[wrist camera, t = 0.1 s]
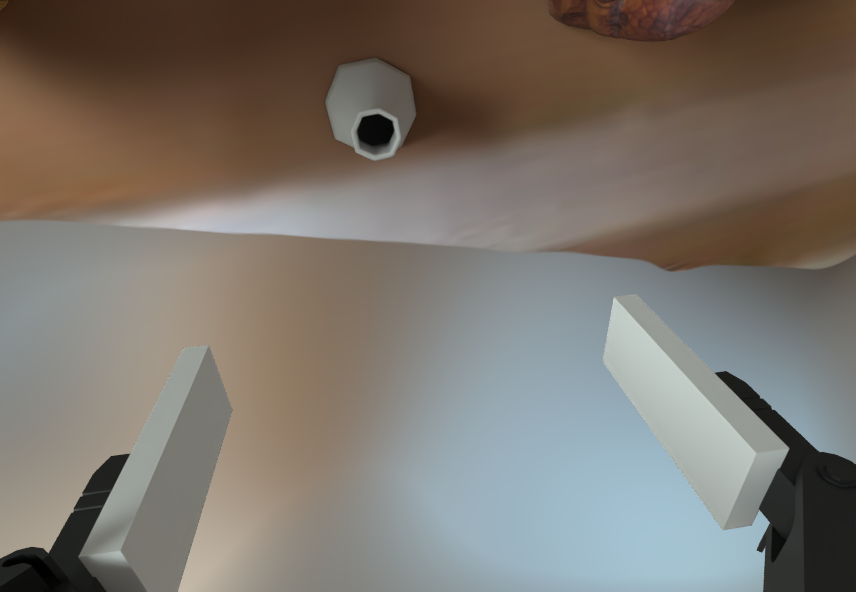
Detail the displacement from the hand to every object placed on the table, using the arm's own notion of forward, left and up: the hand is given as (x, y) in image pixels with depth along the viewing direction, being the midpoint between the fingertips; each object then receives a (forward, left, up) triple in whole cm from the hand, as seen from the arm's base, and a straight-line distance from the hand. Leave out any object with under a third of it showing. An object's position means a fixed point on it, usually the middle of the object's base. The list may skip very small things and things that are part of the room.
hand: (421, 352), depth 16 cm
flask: (-3, 0, -28) cm, 28 cm away
